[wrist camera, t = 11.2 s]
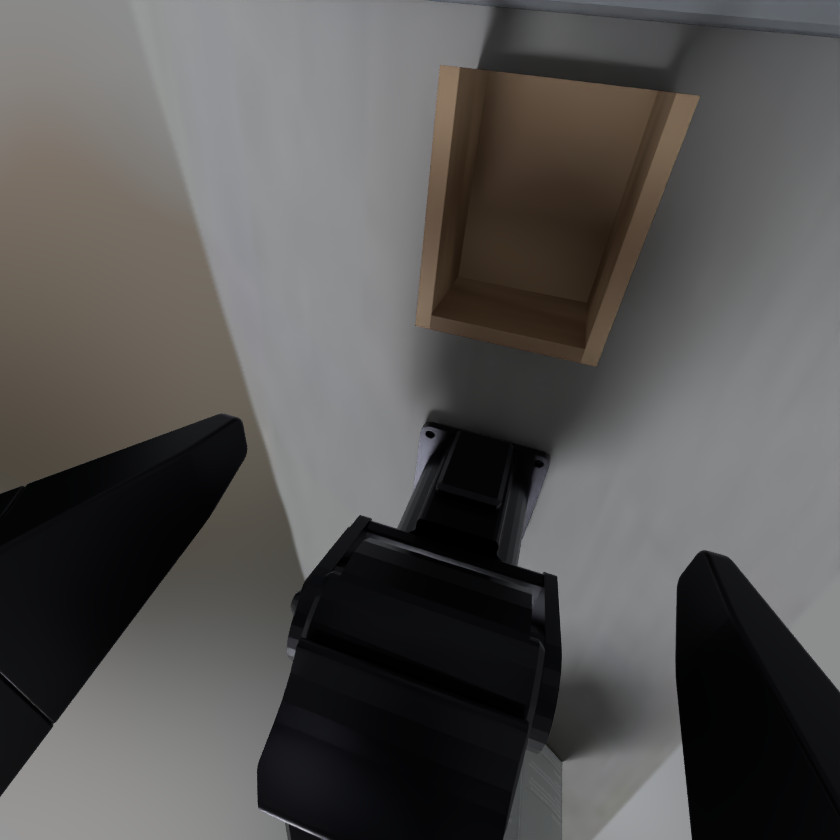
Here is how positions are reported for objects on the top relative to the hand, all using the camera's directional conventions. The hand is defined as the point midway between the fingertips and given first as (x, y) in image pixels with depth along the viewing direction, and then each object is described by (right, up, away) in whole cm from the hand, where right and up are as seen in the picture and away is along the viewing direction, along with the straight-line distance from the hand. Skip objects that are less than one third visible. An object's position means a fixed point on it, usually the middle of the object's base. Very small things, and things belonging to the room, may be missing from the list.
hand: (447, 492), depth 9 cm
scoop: (+4, +9, +7) cm, 12 cm away
